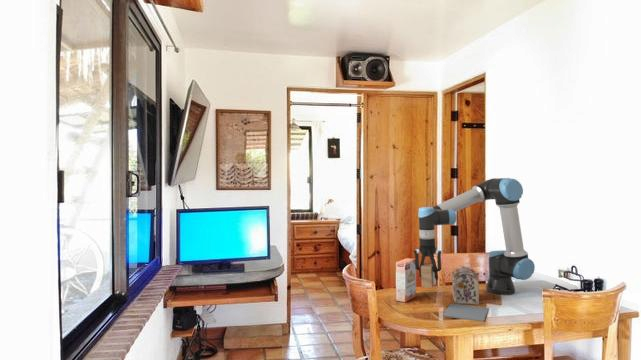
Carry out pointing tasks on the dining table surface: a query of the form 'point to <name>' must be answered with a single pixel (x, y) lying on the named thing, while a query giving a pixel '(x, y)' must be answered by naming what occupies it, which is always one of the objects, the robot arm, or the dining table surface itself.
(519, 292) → the dining table surface
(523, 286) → the dining table surface
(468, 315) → the rubber mat
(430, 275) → the walnut block
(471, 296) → the decorative jar
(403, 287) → the cracker box
